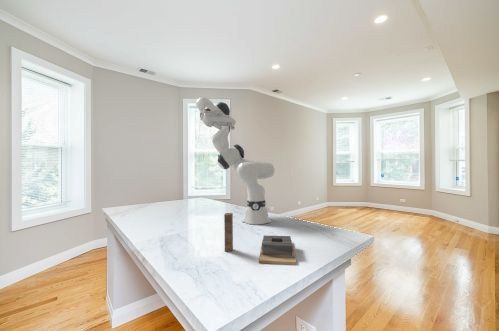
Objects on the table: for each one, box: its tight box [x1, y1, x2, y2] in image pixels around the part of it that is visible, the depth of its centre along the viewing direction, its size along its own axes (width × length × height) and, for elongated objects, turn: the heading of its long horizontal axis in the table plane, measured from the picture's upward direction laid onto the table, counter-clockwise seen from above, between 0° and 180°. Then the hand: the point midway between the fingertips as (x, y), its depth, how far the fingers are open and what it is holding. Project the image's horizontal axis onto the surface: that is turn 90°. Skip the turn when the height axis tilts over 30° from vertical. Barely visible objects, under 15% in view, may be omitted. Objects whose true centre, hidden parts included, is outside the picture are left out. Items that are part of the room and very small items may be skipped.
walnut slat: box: [223, 212, 234, 253], centre depth 101 cm, size 3×3×16 cm
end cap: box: [258, 234, 297, 266], centre depth 99 cm, size 24×14×5 cm, turn 174°
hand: (227, 128), depth 127 cm, fingers open, 8 cm apart
